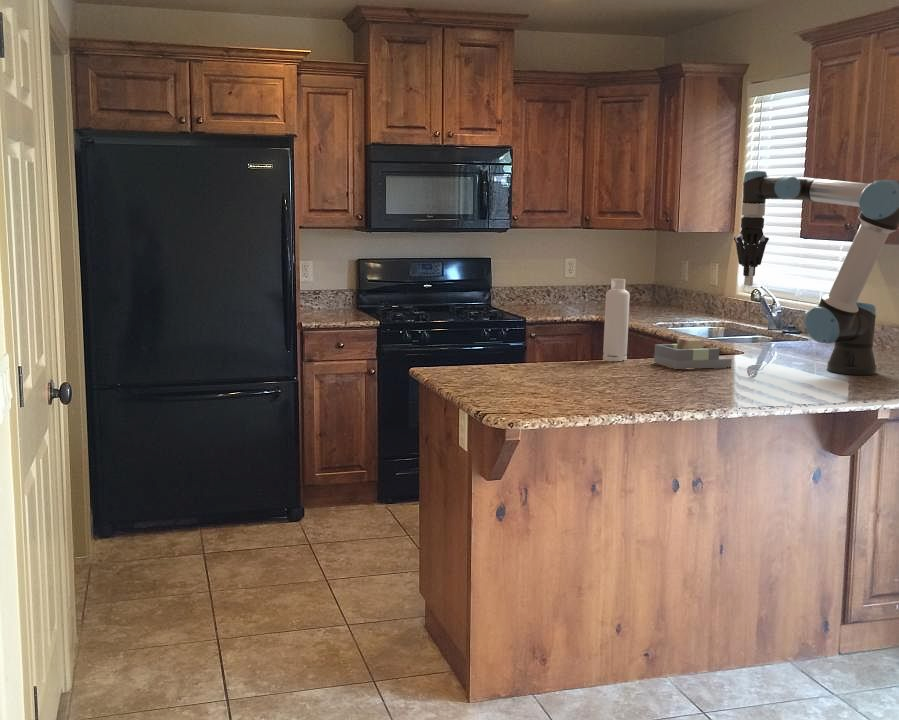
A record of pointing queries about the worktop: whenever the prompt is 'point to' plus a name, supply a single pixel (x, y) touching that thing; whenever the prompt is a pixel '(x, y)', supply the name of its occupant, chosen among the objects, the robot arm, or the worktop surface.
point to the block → (689, 343)
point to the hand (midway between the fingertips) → (748, 285)
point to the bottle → (616, 321)
